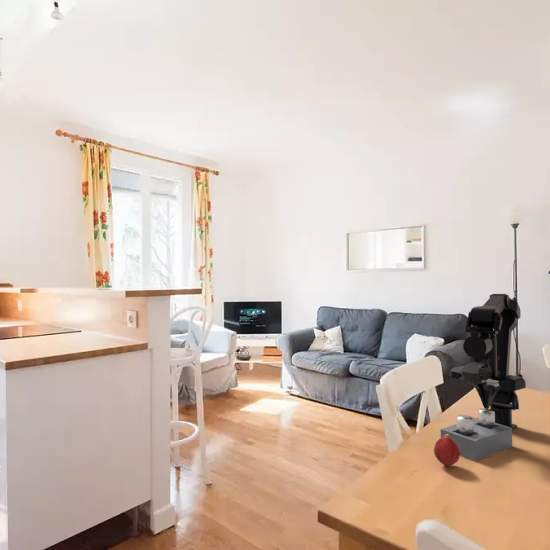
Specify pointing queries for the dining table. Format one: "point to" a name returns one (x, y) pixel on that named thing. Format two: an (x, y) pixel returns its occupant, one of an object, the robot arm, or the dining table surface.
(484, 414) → the peg
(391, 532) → the dining table surface
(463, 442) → the socket block
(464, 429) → the peg
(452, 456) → the onion
